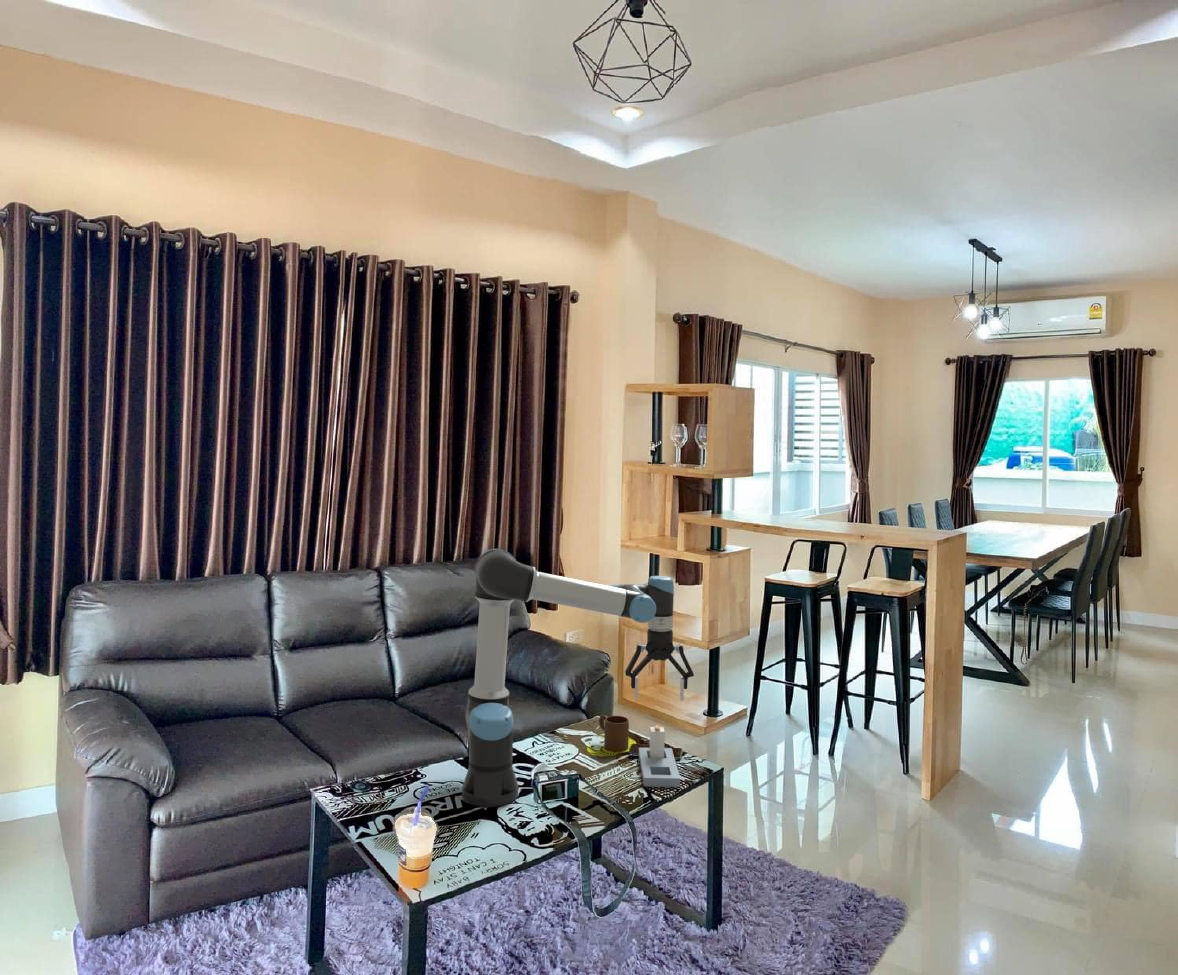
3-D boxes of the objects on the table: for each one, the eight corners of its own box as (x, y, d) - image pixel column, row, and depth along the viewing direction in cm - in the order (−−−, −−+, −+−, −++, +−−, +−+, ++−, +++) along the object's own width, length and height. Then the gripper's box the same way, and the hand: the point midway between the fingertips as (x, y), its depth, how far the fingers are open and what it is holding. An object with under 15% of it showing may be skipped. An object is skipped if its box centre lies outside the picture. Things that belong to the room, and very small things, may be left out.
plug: (650, 764, 240) (651, 728, 239) (649, 759, 244) (650, 724, 243) (663, 764, 240) (664, 729, 239) (662, 759, 244) (663, 724, 243)
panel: (643, 788, 225) (644, 777, 224) (638, 757, 247) (638, 747, 246) (679, 788, 225) (680, 778, 225) (671, 757, 247) (671, 748, 246)
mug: (590, 743, 257) (590, 714, 256) (608, 738, 262) (608, 709, 261) (615, 755, 248) (615, 725, 247) (633, 749, 252) (634, 720, 252)
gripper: (618, 631, 235) (617, 702, 237) (704, 632, 235) (702, 703, 237) (617, 625, 243) (616, 694, 244) (700, 626, 243) (698, 695, 244)
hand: (658, 699), depth 240 cm, fingers open, 13 cm apart
